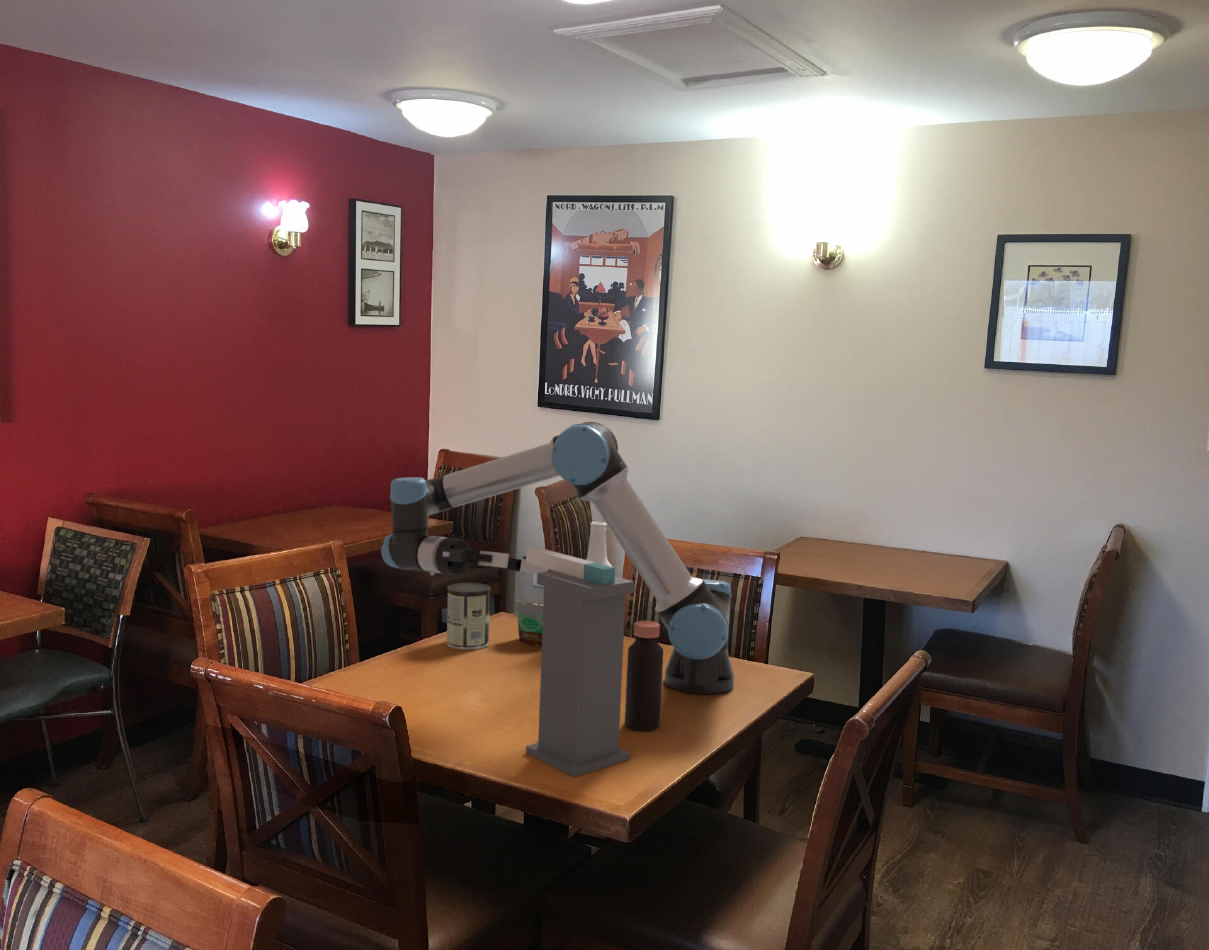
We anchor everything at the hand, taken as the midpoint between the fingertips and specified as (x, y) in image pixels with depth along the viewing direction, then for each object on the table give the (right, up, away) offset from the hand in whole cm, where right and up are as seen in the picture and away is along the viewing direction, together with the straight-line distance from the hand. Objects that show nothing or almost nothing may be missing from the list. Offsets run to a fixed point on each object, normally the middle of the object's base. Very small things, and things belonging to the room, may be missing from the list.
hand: (528, 564), depth 196 cm
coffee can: (-18, -24, +47) cm, 55 cm away
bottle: (+22, -31, -3) cm, 38 cm away
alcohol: (+12, -24, +53) cm, 60 cm away
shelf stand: (+10, -32, -20) cm, 39 cm away
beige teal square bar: (+9, 0, -20) cm, 22 cm away
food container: (-2, -24, +50) cm, 55 cm away
